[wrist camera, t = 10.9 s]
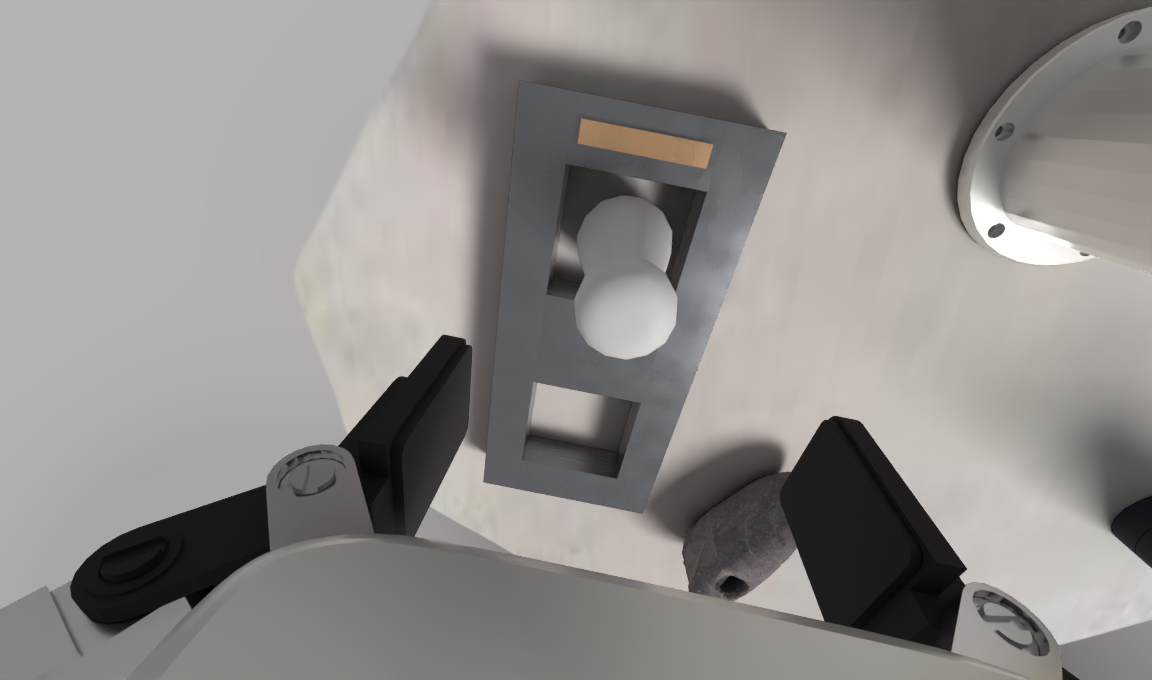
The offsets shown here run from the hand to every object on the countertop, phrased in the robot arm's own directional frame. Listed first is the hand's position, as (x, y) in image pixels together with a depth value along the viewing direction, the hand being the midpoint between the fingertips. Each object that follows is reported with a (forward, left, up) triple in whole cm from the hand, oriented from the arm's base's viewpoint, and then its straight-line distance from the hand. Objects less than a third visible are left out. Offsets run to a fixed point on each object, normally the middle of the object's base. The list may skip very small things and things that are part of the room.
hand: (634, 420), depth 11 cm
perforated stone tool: (-16, +23, -19) cm, 34 cm away
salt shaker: (0, 0, -19) cm, 19 cm away
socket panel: (0, +8, -19) cm, 21 cm away
